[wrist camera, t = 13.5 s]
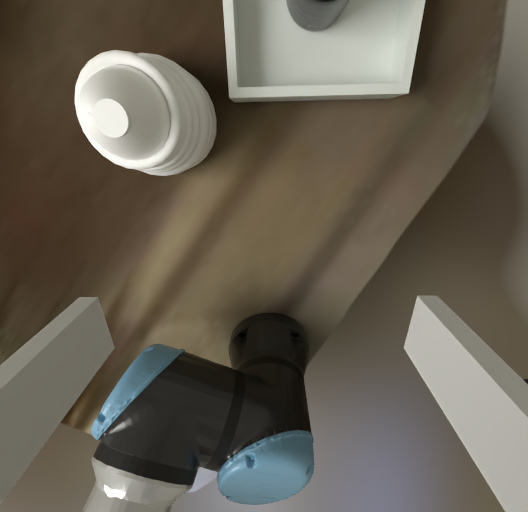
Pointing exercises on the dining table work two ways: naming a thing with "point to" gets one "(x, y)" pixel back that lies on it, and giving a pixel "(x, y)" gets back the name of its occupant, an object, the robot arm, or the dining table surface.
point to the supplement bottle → (315, 13)
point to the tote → (320, 51)
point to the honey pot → (145, 112)
